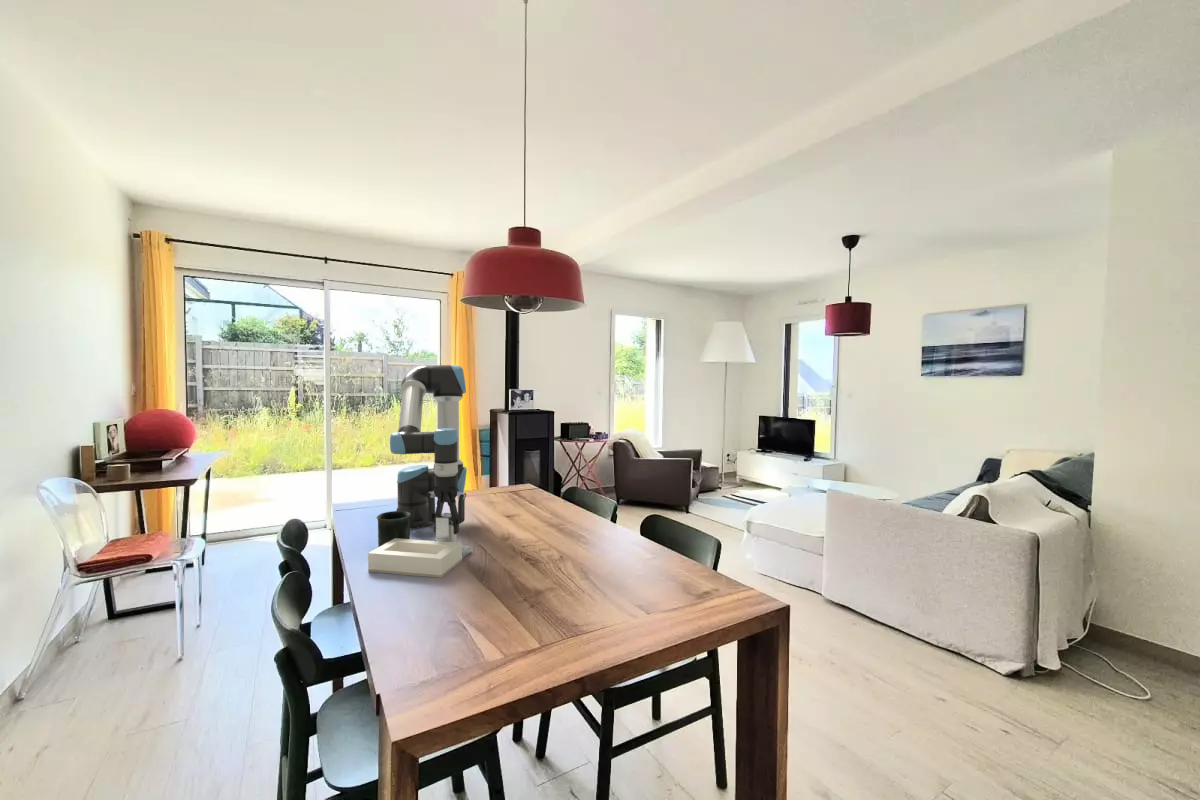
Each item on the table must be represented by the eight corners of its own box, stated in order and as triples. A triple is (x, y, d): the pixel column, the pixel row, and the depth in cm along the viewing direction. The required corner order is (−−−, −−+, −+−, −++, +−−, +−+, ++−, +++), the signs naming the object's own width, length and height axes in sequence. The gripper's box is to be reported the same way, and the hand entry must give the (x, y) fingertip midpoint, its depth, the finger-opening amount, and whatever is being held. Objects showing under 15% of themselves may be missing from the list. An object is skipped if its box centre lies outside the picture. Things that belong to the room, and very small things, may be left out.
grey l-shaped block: (444, 549, 169) (444, 512, 169) (470, 551, 168) (470, 514, 167) (436, 556, 163) (435, 517, 163) (462, 558, 162) (462, 519, 161)
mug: (386, 557, 162) (385, 521, 161) (367, 547, 171) (366, 513, 171) (417, 549, 170) (416, 515, 169) (397, 539, 179) (396, 507, 179)
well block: (395, 555, 164) (394, 538, 163) (462, 560, 160) (462, 543, 159) (368, 571, 150) (368, 553, 150) (441, 577, 146) (440, 558, 145)
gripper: (416, 475, 162) (416, 544, 163) (465, 477, 159) (466, 548, 160) (427, 471, 170) (428, 537, 171) (475, 473, 167) (475, 540, 168)
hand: (446, 542), depth 166 cm, fingers closed on grey l-shaped block, 4 cm apart
